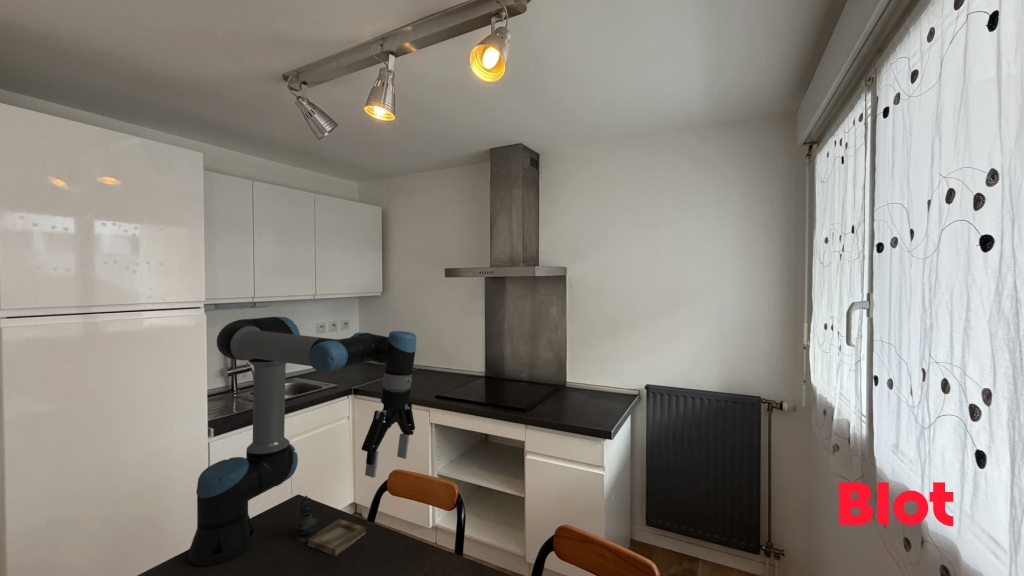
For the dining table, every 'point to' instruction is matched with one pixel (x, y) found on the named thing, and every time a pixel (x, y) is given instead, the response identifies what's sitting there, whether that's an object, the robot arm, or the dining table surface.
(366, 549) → the dining table surface
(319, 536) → the square wooden tray
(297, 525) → the dark grey tall figure
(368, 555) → the dining table surface
